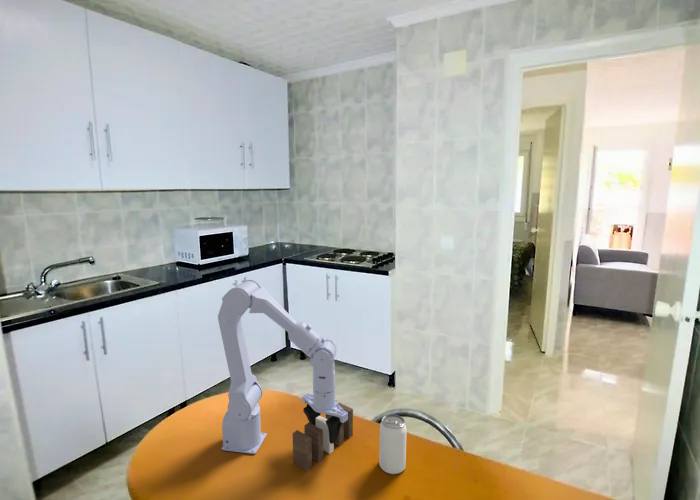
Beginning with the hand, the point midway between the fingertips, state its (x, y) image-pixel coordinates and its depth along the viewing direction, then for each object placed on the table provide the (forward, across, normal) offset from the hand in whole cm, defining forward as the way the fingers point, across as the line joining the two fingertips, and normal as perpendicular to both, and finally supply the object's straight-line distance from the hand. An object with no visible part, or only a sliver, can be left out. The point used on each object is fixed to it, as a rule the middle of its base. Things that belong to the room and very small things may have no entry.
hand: (324, 436), depth 96 cm
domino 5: (+3, 0, -8) cm, 9 cm away
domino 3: (+3, 0, 0) cm, 3 cm away
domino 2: (+3, 0, +4) cm, 5 cm away
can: (+4, -17, -6) cm, 19 cm away
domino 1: (+3, 0, +8) cm, 9 cm away
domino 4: (+3, 0, -4) cm, 5 cm away
